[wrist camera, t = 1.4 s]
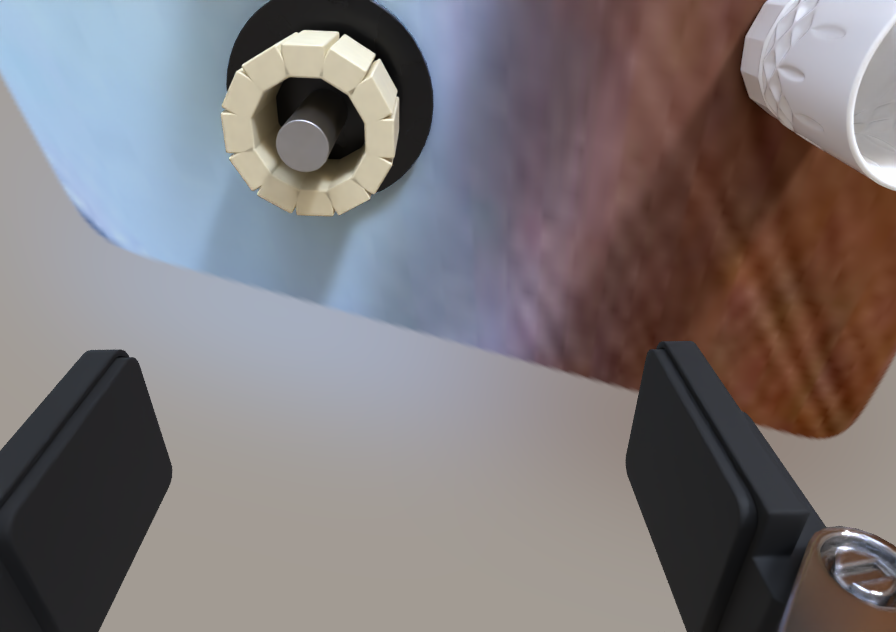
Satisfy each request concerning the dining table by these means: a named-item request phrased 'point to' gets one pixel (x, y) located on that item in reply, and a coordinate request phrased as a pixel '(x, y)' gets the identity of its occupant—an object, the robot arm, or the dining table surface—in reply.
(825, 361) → the dining table surface
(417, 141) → the tape stand
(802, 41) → the white cup
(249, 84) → the tape roll
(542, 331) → the dining table surface
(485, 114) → the dining table surface
